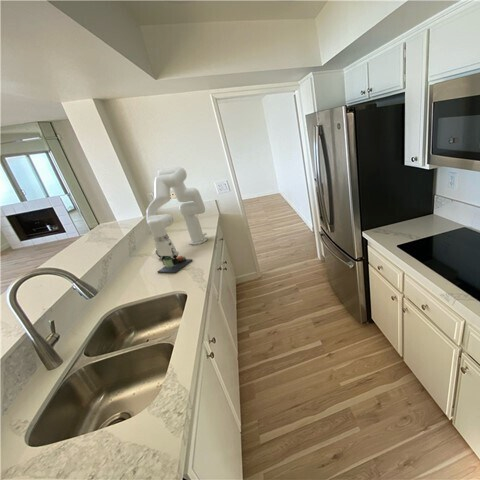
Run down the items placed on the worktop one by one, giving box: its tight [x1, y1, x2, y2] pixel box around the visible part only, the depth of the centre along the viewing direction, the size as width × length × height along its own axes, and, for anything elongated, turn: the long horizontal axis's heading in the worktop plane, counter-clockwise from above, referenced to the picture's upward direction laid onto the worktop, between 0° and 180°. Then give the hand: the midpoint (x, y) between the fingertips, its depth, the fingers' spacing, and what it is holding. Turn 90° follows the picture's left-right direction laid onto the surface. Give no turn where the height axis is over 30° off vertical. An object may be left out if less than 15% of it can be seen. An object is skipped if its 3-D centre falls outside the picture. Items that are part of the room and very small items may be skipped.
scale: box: [157, 256, 193, 274], centre depth 170 cm, size 16×13×3 cm
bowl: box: [162, 255, 175, 268], centre depth 166 cm, size 7×7×5 cm
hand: (171, 263), depth 167 cm, fingers closed on bowl, 6 cm apart
